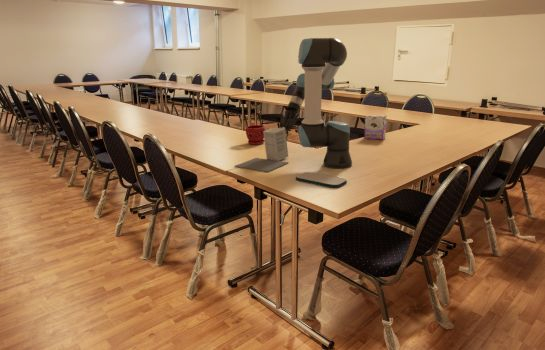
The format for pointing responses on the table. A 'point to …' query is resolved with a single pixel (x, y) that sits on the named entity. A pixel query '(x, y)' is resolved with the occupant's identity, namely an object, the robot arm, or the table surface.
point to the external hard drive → (321, 180)
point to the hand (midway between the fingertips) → (280, 137)
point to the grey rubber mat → (261, 164)
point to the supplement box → (275, 144)
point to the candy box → (375, 127)
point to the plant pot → (255, 134)
